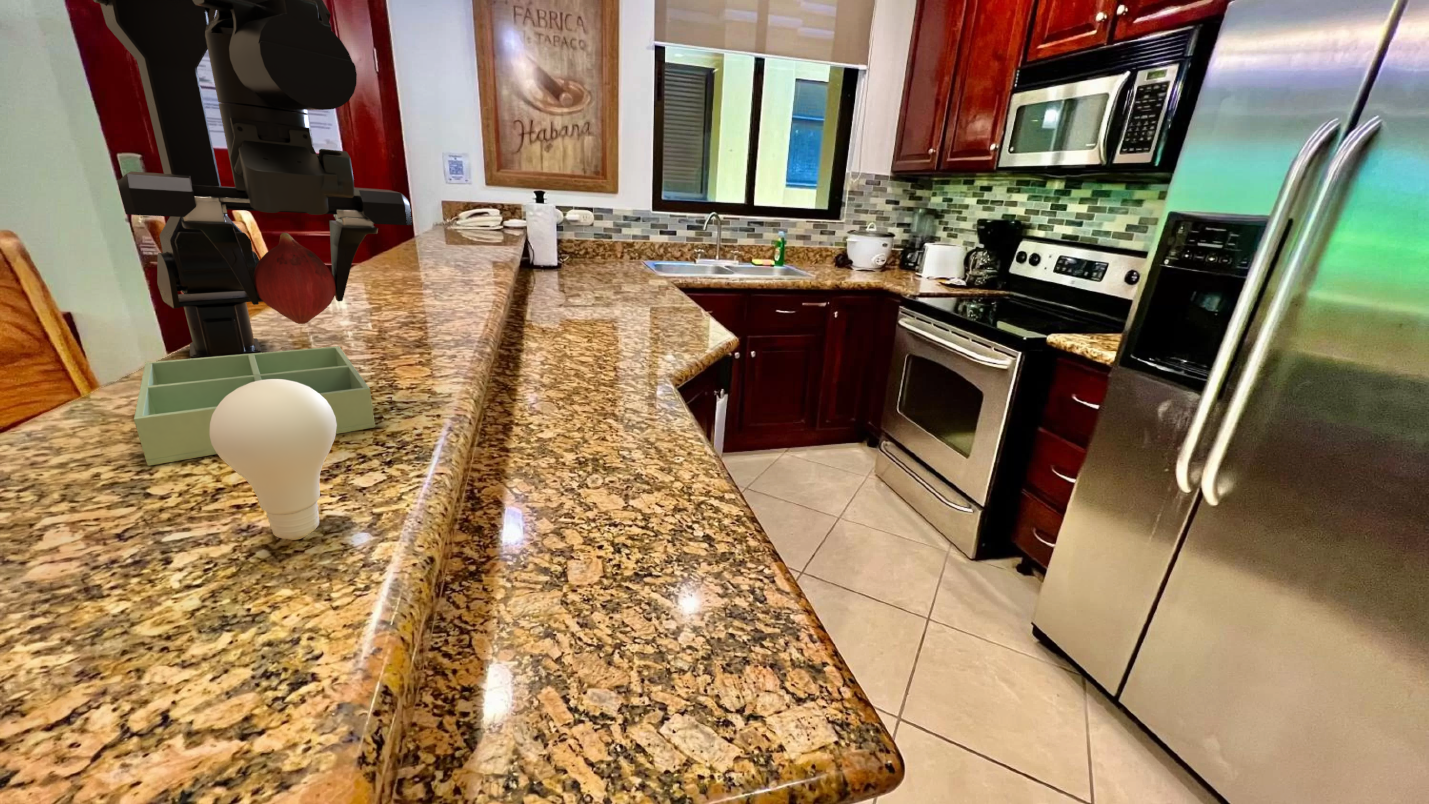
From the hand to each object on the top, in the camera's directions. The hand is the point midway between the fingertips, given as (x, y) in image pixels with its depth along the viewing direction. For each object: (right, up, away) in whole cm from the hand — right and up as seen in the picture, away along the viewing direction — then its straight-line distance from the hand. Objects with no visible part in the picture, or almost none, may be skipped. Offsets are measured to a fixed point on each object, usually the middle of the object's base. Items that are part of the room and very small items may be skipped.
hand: (298, 302), depth 50 cm
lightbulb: (+10, -18, -13) cm, 24 cm away
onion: (0, -2, +1) cm, 2 cm away
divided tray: (-6, -10, +3) cm, 12 cm away
